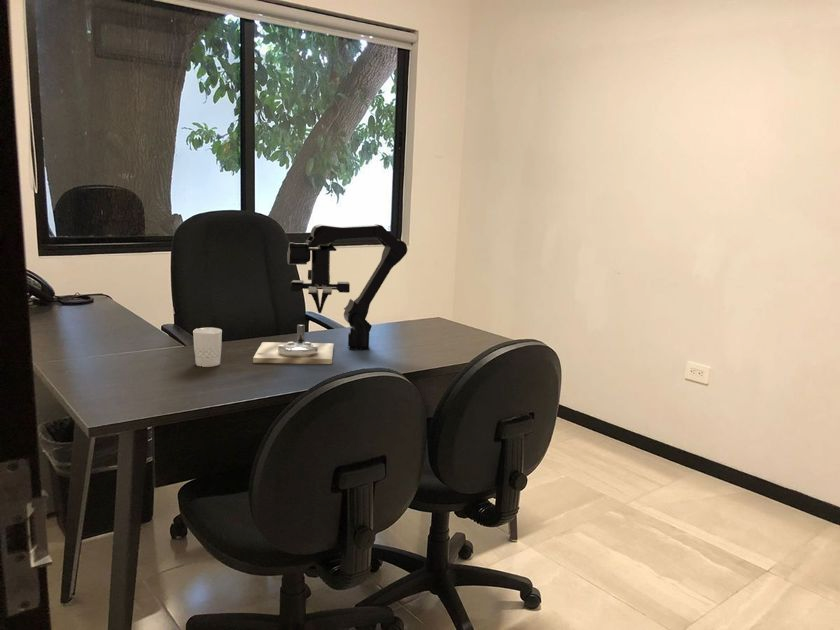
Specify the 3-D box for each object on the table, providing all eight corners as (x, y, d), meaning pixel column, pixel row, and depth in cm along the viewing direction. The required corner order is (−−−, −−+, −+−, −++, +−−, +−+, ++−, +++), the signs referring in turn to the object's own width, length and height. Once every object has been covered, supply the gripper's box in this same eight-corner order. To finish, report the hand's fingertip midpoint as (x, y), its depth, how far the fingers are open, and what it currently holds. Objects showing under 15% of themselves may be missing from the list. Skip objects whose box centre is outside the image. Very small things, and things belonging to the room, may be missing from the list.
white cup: (187, 364, 185) (186, 330, 184) (208, 359, 192) (207, 326, 190) (207, 369, 182) (207, 334, 180) (228, 363, 189) (227, 330, 187)
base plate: (333, 347, 213) (333, 343, 212) (331, 363, 193) (331, 358, 193) (262, 346, 210) (262, 341, 210) (253, 362, 190) (253, 357, 190)
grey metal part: (316, 357, 193) (317, 337, 192) (275, 357, 192) (276, 336, 191) (319, 343, 211) (319, 324, 210) (282, 342, 210) (282, 324, 208)
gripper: (350, 262, 214) (349, 309, 217) (293, 261, 212) (292, 307, 215) (350, 266, 203) (349, 315, 206) (289, 264, 201) (289, 314, 204)
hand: (319, 312), depth 208 cm, fingers closed
